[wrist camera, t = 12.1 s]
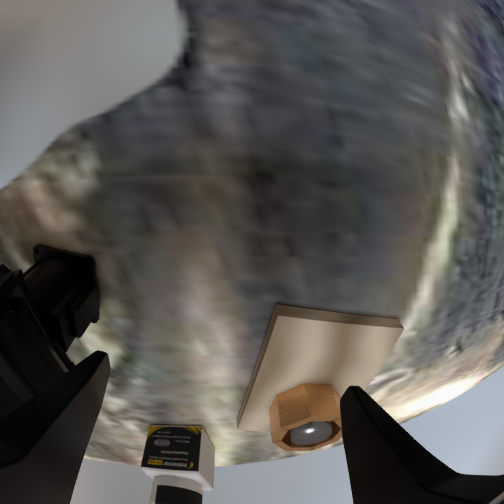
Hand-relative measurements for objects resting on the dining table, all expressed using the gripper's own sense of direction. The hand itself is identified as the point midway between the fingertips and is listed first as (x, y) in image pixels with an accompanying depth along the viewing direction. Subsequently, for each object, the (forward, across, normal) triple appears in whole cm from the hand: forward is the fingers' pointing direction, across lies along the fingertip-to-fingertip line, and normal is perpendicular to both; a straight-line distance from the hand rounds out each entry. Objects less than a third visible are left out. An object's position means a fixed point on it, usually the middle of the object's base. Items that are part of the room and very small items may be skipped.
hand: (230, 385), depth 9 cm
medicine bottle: (+12, +2, +28) cm, 31 cm away
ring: (+10, -10, +15) cm, 21 cm away
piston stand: (+12, -10, +12) cm, 20 cm away
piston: (+10, -10, +15) cm, 21 cm away
